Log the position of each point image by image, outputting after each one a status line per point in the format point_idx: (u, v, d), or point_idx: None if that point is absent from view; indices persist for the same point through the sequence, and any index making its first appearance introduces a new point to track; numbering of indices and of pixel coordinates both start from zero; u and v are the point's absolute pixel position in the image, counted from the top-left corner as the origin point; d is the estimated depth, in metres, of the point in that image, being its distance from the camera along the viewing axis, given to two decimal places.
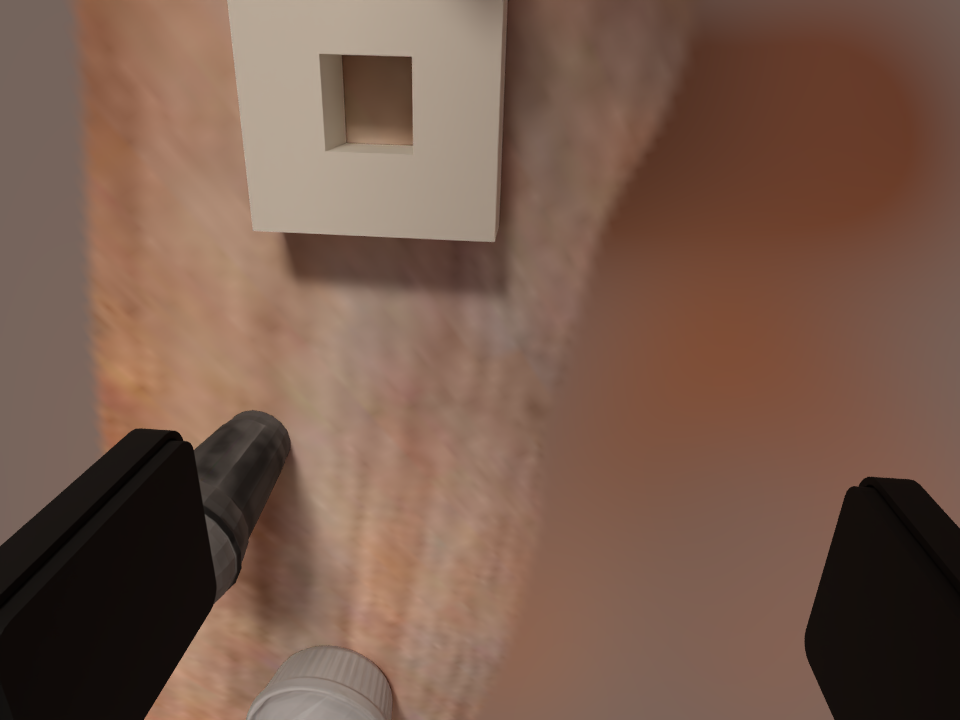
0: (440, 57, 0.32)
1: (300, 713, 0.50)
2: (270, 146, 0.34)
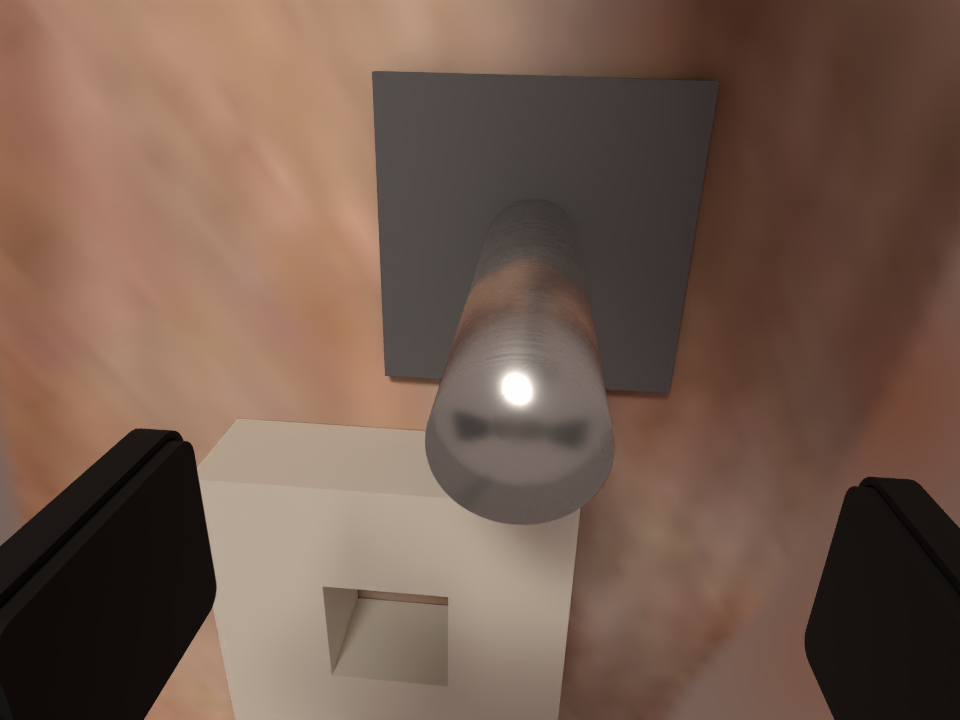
0: (486, 600, 0.23)
1: None
2: (259, 666, 0.26)
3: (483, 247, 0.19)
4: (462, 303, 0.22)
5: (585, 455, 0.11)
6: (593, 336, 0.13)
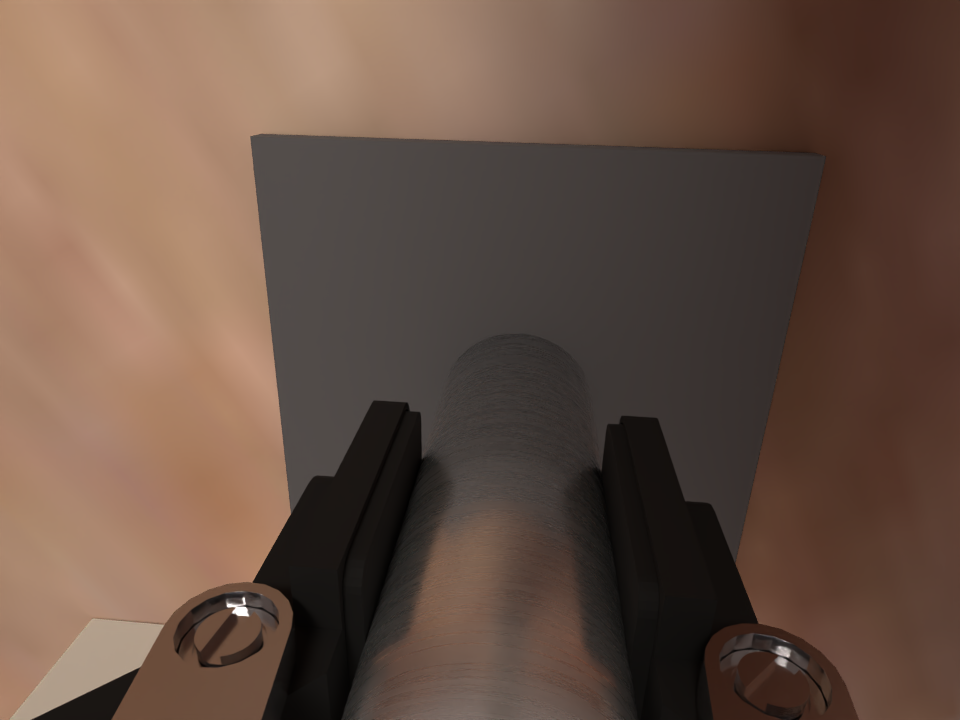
0: None
1: None
2: None
3: (430, 432, 0.11)
4: None
5: None
6: None
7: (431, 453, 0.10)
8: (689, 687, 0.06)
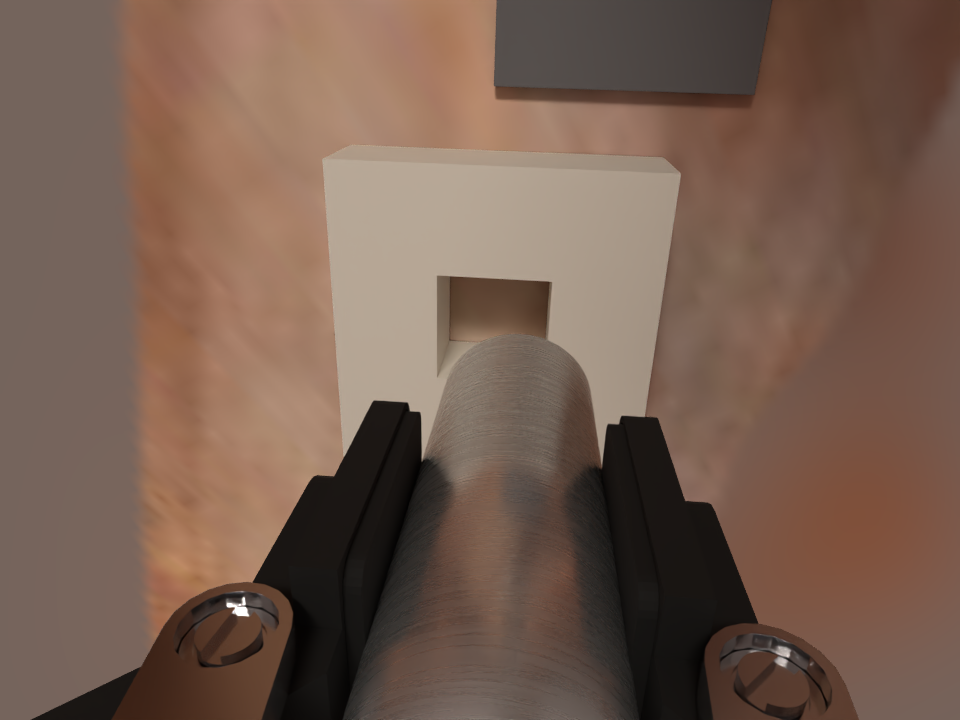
0: (587, 284, 0.26)
1: None
2: (370, 371, 0.28)
3: (431, 432, 0.11)
4: (570, 4, 0.25)
5: None
6: None
7: (432, 454, 0.10)
8: (689, 687, 0.06)
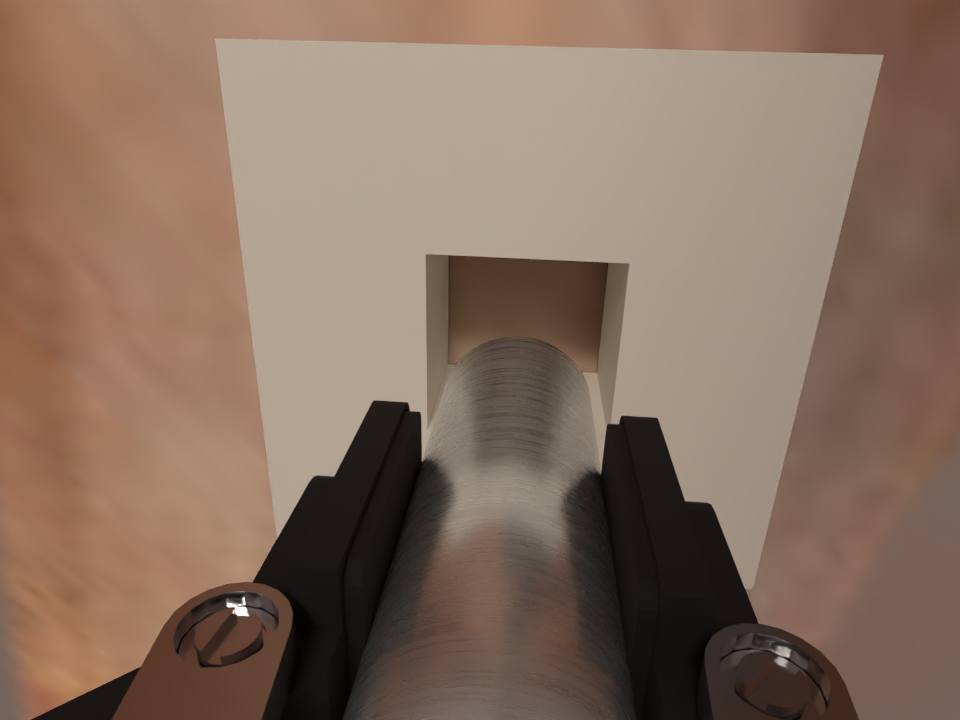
0: (693, 267, 0.15)
1: None
2: (316, 417, 0.17)
3: (430, 435, 0.11)
4: None
5: None
6: None
7: (431, 457, 0.10)
8: (689, 687, 0.06)
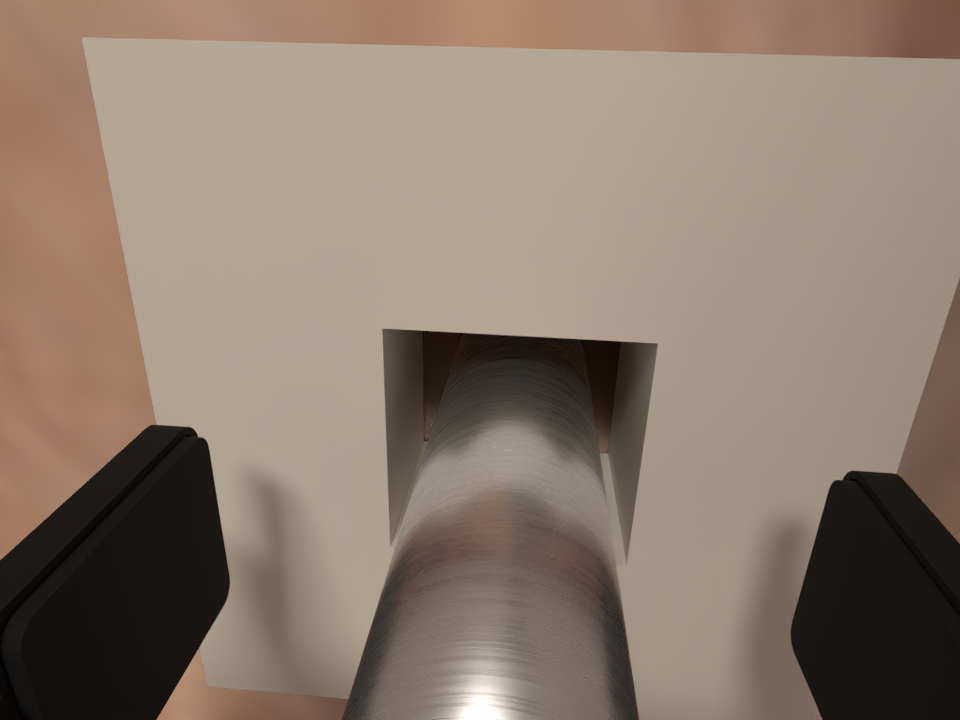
0: (745, 349, 0.11)
1: None
2: (246, 530, 0.13)
3: (446, 381, 0.13)
4: None
5: None
6: (622, 655, 0.07)
7: (449, 393, 0.12)
8: None
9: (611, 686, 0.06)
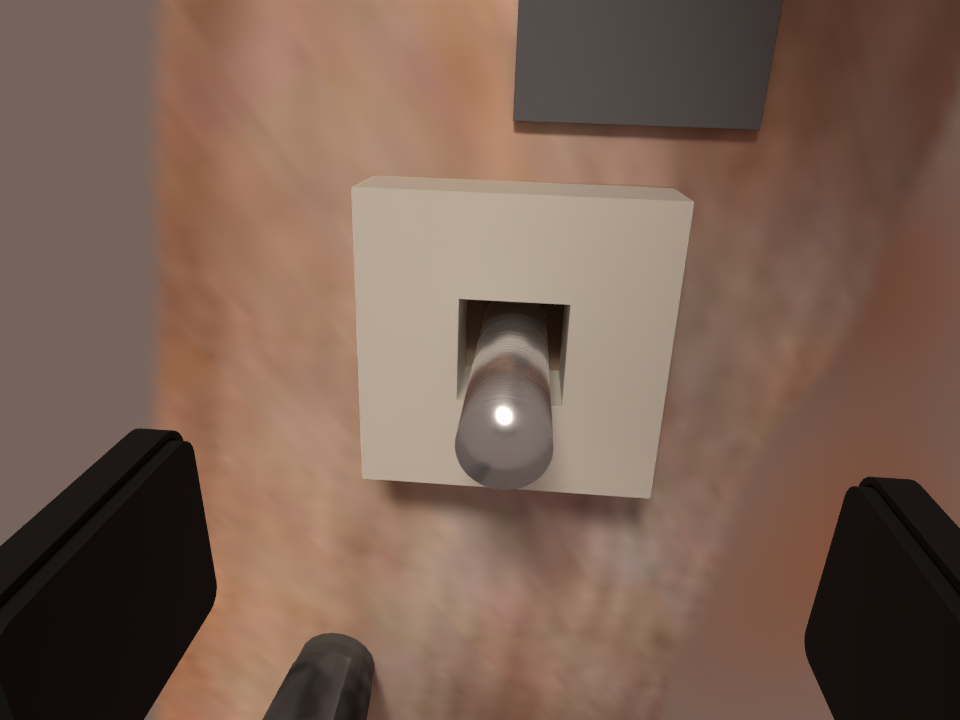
0: (604, 307, 0.27)
1: None
2: (391, 392, 0.29)
3: (481, 327, 0.29)
4: (586, 45, 0.26)
5: (538, 450, 0.20)
6: (546, 387, 0.23)
7: (484, 328, 0.28)
8: None
9: (541, 388, 0.22)
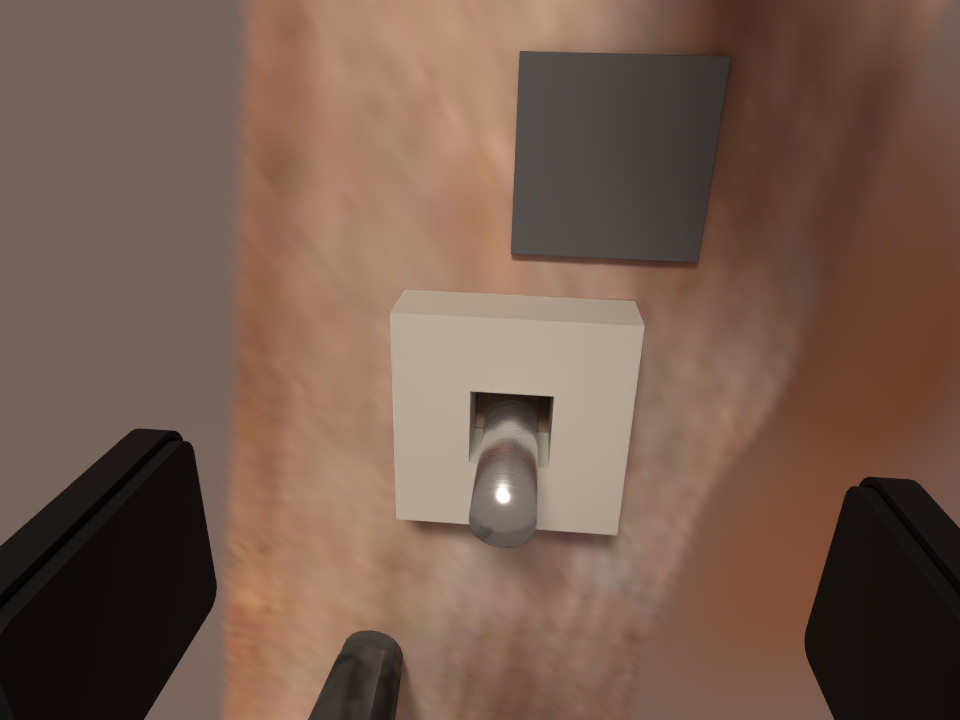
0: (579, 398, 0.36)
1: None
2: (419, 457, 0.38)
3: (487, 406, 0.38)
4: (565, 201, 0.35)
5: (526, 522, 0.29)
6: (533, 470, 0.32)
7: (489, 411, 0.37)
8: None
9: (529, 472, 0.31)
